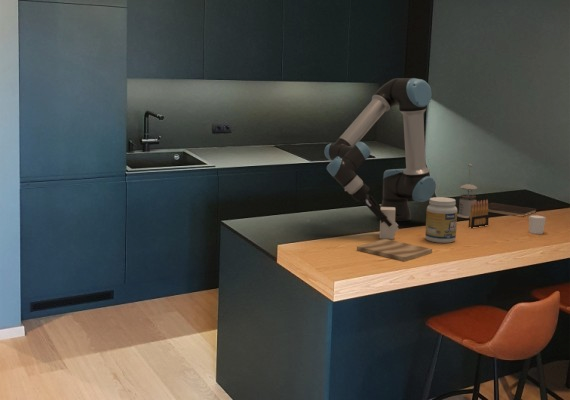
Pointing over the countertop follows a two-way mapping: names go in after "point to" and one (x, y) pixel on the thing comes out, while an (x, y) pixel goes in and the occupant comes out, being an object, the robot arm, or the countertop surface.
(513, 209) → the hardcover book
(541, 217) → the white cup
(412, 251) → the wooden board
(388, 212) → the off-white block
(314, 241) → the countertop surface
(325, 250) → the countertop surface
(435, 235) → the supplement tub
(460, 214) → the french press
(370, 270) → the countertop surface
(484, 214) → the ammunition clip
